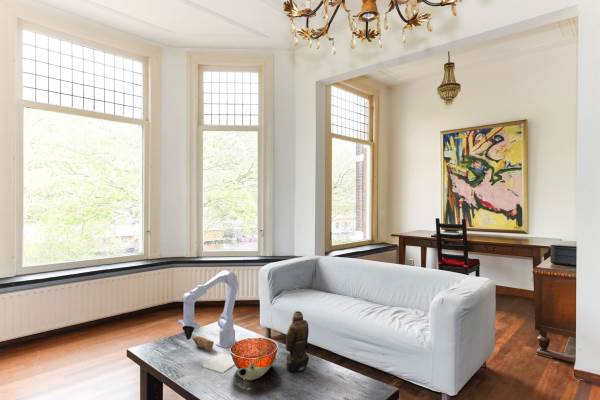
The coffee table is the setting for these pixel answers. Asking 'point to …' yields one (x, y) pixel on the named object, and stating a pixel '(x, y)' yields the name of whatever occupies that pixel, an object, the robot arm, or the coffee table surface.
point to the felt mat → (220, 363)
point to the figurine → (203, 342)
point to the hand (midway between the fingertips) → (188, 338)
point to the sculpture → (297, 344)
